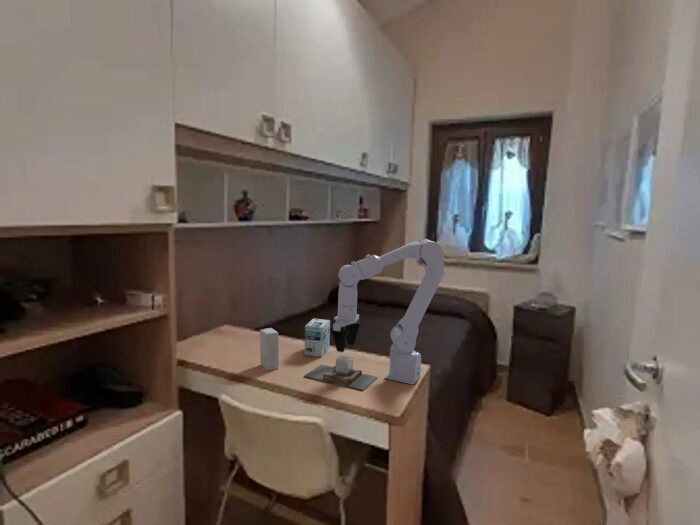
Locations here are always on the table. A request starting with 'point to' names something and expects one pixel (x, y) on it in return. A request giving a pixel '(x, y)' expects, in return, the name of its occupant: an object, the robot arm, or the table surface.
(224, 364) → the table surface
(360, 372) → the dock
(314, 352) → the light bulb box
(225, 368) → the table surface
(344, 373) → the aluminium block
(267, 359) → the skincare box
